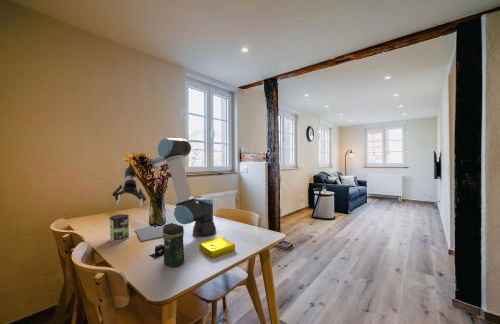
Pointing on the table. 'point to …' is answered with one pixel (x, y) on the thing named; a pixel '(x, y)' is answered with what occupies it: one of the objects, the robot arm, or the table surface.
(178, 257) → the coffee jar
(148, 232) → the rubber mat
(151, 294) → the table surface
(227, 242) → the element tile
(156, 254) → the dark grey angular piece
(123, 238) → the coffee can
